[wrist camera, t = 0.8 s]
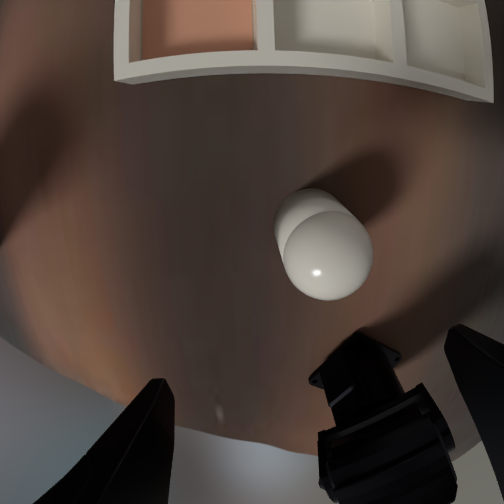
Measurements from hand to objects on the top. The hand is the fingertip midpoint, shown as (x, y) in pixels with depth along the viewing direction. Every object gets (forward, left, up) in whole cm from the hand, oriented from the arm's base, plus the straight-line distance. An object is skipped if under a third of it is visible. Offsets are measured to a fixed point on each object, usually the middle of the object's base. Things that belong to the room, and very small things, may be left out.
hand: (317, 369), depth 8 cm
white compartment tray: (+7, -15, -12) cm, 21 cm away
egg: (-2, -1, -12) cm, 12 cm away
